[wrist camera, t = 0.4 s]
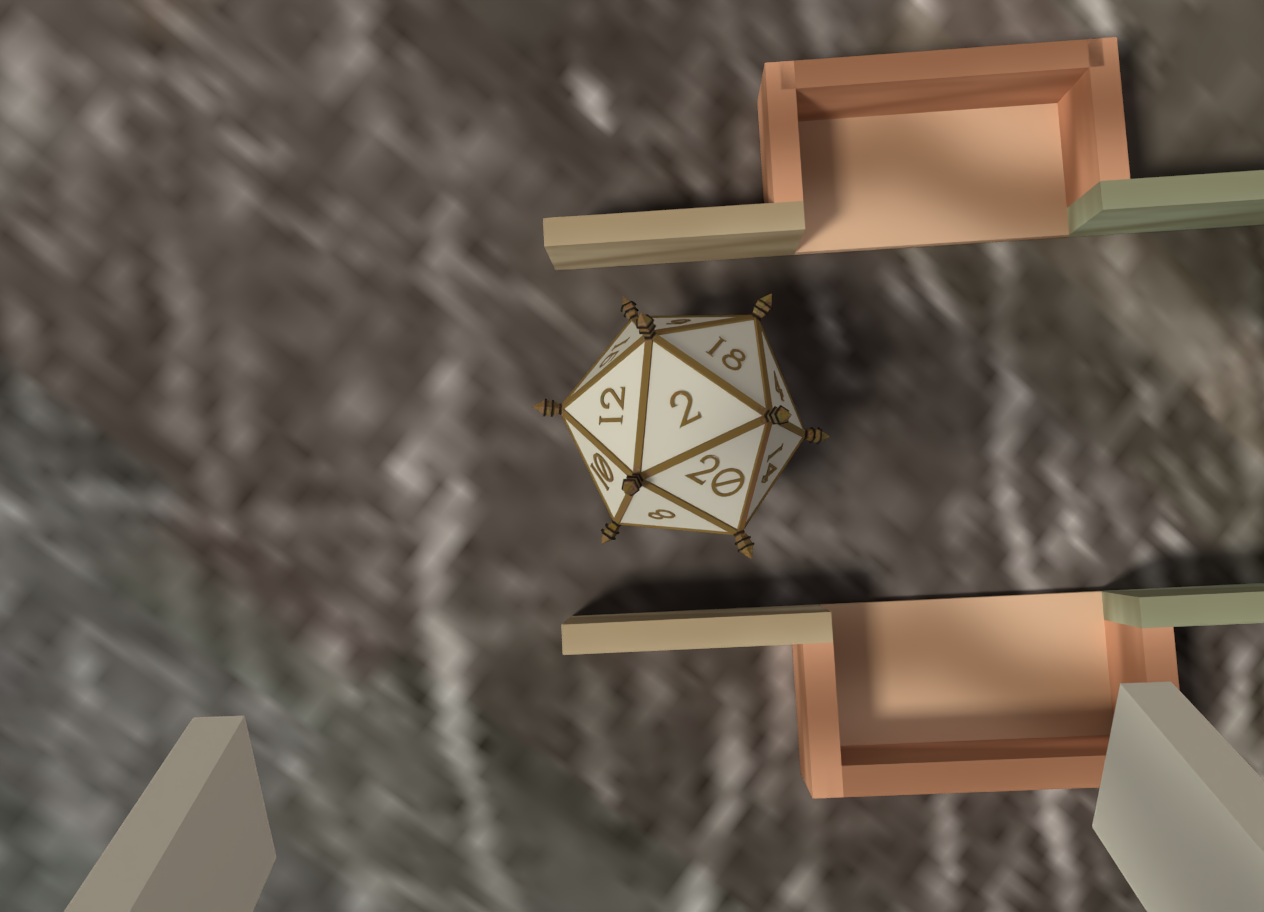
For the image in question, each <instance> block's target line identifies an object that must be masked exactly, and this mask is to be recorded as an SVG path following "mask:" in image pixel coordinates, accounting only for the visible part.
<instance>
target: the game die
mask: <svg viewBox="0 0 1264 912" xmlns="http://www.w3.org/2000/svg"><path fill="white" fill-rule="evenodd" d="M757 300H758V302H757V303H756V305H753V306H754V310H753V313H752V314H751V315H684V316H649V315H644V314H643V313H641V312H640V315H639V316H638V313H637V311H639V310H638V309H637V308H636V307H635V305H636V303H634V302H633V301H629V300H628V299H626V298H625V297H623V304H622V307H621V312H623V313H624V317H627V318H628V319H629V322H628V323H627V324H626V326H625V327H624V328H623V329H622V330H621V332H620V333H619V334H618V335H617V337H616V338H615V339H614V340H613V342H612V343H611V344H610V345H609V346H608V348H607V349H606V350H605V351H604V353H603V354H602V355H601V356H600V358H599V359H598V360H597V361H596V362H595V364H594V365H593V366H592V367H591V369H590V370H589V371H588V372H587V373H586V375H585V376H584V377H583V378H582V380H581V381H580V382H579V383H578V385H577V386H576V387H575V388H574V389H573V391H572V392H571V393H570V394H569V396H568V397H567V398H566V399H565V401H564V402H563V403H562V404H558V403H556V402H554V400H552V401H547V399H545V401H543V402H541V403H539V404H536V405H534V406H532V407H534V408H535V409H536V410H538V411H539V412H541V413H542V414H543V416H545V415H551V417H553V415H556V414H560V415H561V416H562V418H563V420H564V422H565V424H566V426H567V428H568V430H569V432H570V434H571V436H572V438H573V440H574V442H575V444H576V446H577V448H578V450H579V452H580V454H581V456H582V458H583V460H584V463H585V465H586V467H587V469H588V471H589V473H590V475H591V477H592V479H593V481H594V483H595V485H596V487H597V489H598V491H599V493H600V495H601V497H602V499H603V501H604V503H605V505H606V507H607V509H608V511H609V514H610V516H611V518H612V521H611V522H610V523H608V524H607V523H606V524H605V526H606V527H605V528H604V529H602V530H601V531H602V543H601V544H603V543H606V542H608V541H610V540H615V539H616V538H615V536H616V534H619V532H618V530H619V527H620V526H621V525H628V526H640V527H651V528H662V529H674V530H685V531H696V532H708V533H719V534H730V535H734V536H735V539H736V543H735V545H737V546H738V549H739V550H738V552H742V553H743V554H745V555H746V556H748V557H749V558H751V559H752V552H753V545H754V543H752V542H751V540H750V538H751V537H750V536H748V535H747V534H746V533H745V532H744V529H745V527H746V526H747V524H748V523H749V521H750V520H751V518H752V516H753V515H754V513H755V512H756V510H757V509H758V507H759V506H760V504H761V503H762V501H763V500H764V498H765V497H766V495H767V494H768V492H769V491H770V489H771V488H772V486H773V485H774V483H775V482H776V480H777V479H778V477H779V476H780V474H781V473H782V471H783V470H784V468H785V467H786V465H787V464H788V462H789V460H790V459H791V457H792V456H793V454H794V453H795V451H796V450H797V448H798V447H799V445H800V444H801V442H802V441H803V440H804V439H806V440H808V441H810V443H812V442H816V444H819V443H820V442H821V441H823V440H825V439H827V438H829V437H830V436H829V435H827V434H826V433H824V432H823V431H822V429H821V428H819V427H818V428H817V429H814V428H813V427H811V429H805V428H804V426H803V424H802V421H801V419H800V416H799V414H798V412H797V409H796V407H795V404H794V402H793V399H792V397H791V395H790V392H789V390H788V387H787V385H786V382H785V380H784V378H783V375H782V373H781V370H780V368H779V365H778V363H777V361H776V358H775V356H774V353H773V351H772V348H771V346H770V344H769V341H768V339H767V336H766V334H765V332H764V329H763V327H762V324H761V322H760V320H761V318H762V317H763V316H765V315H768V313H767V312H768V311H769V310H770V309H772V307H771V304H772V294H769V295H767V296H765V297H763V298H760V299H759V298H758V299H757Z"/></svg>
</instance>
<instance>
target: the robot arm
mask: <svg viewBox="0 0 1264 912" xmlns="http://www.w3.org/2000/svg"><path fill="white" fill-rule="evenodd" d="M1092 827H1093V829H1094V830H1095V832H1096V833H1097V835H1098V837H1099V838H1100V840H1101V841H1102V843H1103V844H1104V846H1105V847H1106V849H1107V851H1108V852H1109V854H1110V855H1111V857H1112V858H1113V860H1114V861H1115V863H1116V864H1117V866H1118V868H1119V869H1120V871H1121V872H1122V874H1123V875H1124V877H1125V878H1126V880H1127V881H1128V883H1129V885H1130V886H1131V888H1132V889H1133V891H1134V892H1135V894H1136V895H1137V897H1138V899H1139V900H1140V902H1141V903H1142V905H1143V906H1144V908H1145V909H1146V911H1147V912H1264V780H1263V779H1262V778H1261V777H1260V776H1259V775H1258V774H1257V773H1256V772H1255V771H1254V770H1253V769H1252V768H1251V766H1250V765H1249V764H1248V763H1247V762H1246V761H1245V760H1244V759H1243V758H1242V757H1241V756H1240V755H1239V754H1238V753H1237V752H1236V750H1235V749H1234V748H1233V747H1232V746H1231V745H1230V744H1229V743H1228V742H1227V741H1226V740H1225V739H1224V738H1223V737H1222V735H1221V734H1220V733H1219V732H1218V731H1217V730H1216V729H1215V728H1214V727H1213V726H1212V725H1211V724H1210V723H1209V722H1208V721H1207V719H1206V718H1205V717H1204V716H1203V715H1202V714H1201V713H1200V712H1199V711H1198V710H1197V709H1196V708H1195V707H1194V706H1193V704H1192V703H1191V702H1190V701H1189V700H1188V699H1187V698H1186V697H1185V696H1184V695H1183V694H1182V693H1181V692H1180V691H1179V690H1178V688H1177V687H1176V686H1175V685H1174V684H1173V683H1172V682H1146V683H1120V687H1119V692H1118V697H1117V702H1116V707H1115V713H1114V718H1113V723H1112V728H1111V733H1110V738H1109V743H1108V748H1107V753H1106V758H1105V764H1104V769H1103V774H1102V779H1101V784H1100V789H1099V794H1098V799H1097V804H1096V810H1095V815H1094V820H1093V825H1092ZM275 860H276V853H275V849H274V844H273V840H272V836H271V831H270V827H269V822H268V818H267V813H266V809H265V805H264V800H263V796H262V791H261V787H260V782H259V778H258V773H257V769H256V765H255V760H254V756H253V751H252V747H251V742H250V738H249V734H248V729H247V725H246V720H245V716H224V717H197V718H193V719H192V720H191V722H190V723H189V725H188V726H187V728H186V729H185V731H184V732H183V734H182V735H181V737H180V738H179V740H178V741H177V743H176V744H175V746H174V747H173V749H172V750H171V752H170V753H169V755H168V756H167V758H166V759H165V761H164V762H163V764H162V765H161V767H160V768H159V770H158V771H157V773H156V774H155V776H154V777H153V779H152V780H151V782H150V783H149V785H148V786H147V788H146V789H145V791H144V792H143V794H142V795H141V797H140V798H139V800H138V801H137V803H136V804H135V806H134V807H133V809H132V810H131V812H130V813H129V815H128V816H127V818H126V819H125V821H124V822H123V824H122V825H121V827H120V828H119V830H118V831H117V833H116V834H115V836H114V837H113V839H112V840H111V842H110V843H109V845H108V846H107V848H106V849H105V851H104V852H103V854H102V855H101V857H100V858H99V860H98V861H97V863H96V864H95V866H94V867H93V869H92V870H91V872H90V873H89V875H88V876H87V878H86V879H85V881H84V882H83V884H82V885H81V887H80V888H79V890H78V891H77V893H76V894H75V896H74V897H73V899H72V900H71V902H70V903H69V905H68V906H67V908H66V909H65V911H64V912H253V910H254V908H255V905H256V903H257V901H258V898H259V896H260V894H261V892H262V889H263V887H264V885H265V882H266V880H267V878H268V876H269V873H270V871H271V869H272V866H273V864H274V862H275Z"/></svg>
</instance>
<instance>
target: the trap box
mask: <svg viewBox="0 0 1264 912" xmlns="http://www.w3.org/2000/svg"><path fill="white" fill-rule="evenodd" d="M758 117H759V133H760V148H761V164H762V179H763V195H764V204H749V205H734V206H719V207H704V208H689V209H675V210H660V211H645V212H630V213H615V214H600V215H585V216H570V217H555V218H543V227H544V247H545V249H546V251H547V253H548V255H549V257H550V259H551V261H552V264H553V266H554V268H555V270H566V269H582V268H597V267H613V266H628V265H644V264H659V263H675V262H690V261H706V260H721V259H737V258H752V257H768V256H783V255H799V254H814V253H830V252H845V251H861V250H877V249H892V248H908V247H923V246H939V245H954V244H970V243H985V242H1001V241H1016V240H1032V239H1047V238H1063V237H1078V236H1094V235H1109V234H1125V233H1140V232H1156V231H1171V230H1187V229H1202V228H1218V227H1233V226H1249V225H1264V170H1257V171H1242V172H1227V173H1212V174H1197V175H1182V176H1167V177H1152V178H1137V179H1130V170H1129V159H1128V149H1127V139H1126V128H1125V118H1124V107H1123V97H1122V87H1121V76H1120V66H1119V55H1118V45H1117V37H1110V38H1096V39H1083V40H1069V41H1055V42H1042V43H1028V44H1015V45H1001V46H988V47H974V48H960V49H947V50H933V51H920V52H906V53H893V54H879V55H865V56H852V57H838V58H825V59H811V60H798V61H784V62H770V63H765V65H764V71H763V76H762V81H761V86H760V92H759V97H758ZM1246 623H1264V583H1254V584H1233V585H1213V586H1192V587H1171V588H1150V589H1129V590H1108V591H1087V592H1066V593H1045V594H1024V595H1003V596H982V597H961V598H940V599H919V600H898V601H877V602H856V603H835V604H815V605H794V606H773V607H752V608H731V609H710V610H689V611H668V612H647V613H626V614H605V615H584V616H571V617H570V618H569V619H568V620H566V621H565V622H564V623H563V624H562V647H563V655H570V654H592V653H614V652H636V651H658V650H679V649H701V648H723V647H745V646H767V645H788V644H792V646H793V662H794V677H795V693H796V708H797V724H798V739H799V755H800V770H801V776H802V778H803V780H804V782H805V784H806V786H807V788H808V790H809V792H810V794H811V796H812V798H835V797H861V796H887V795H913V794H939V793H965V792H991V791H1017V790H1043V789H1069V788H1095V787H1100V784H1101V779H1102V774H1103V769H1104V764H1105V758H1106V753H1107V748H1108V743H1109V738H1110V733H1111V728H1112V723H1113V718H1114V713H1115V707H1116V702H1117V697H1118V692H1119V687H1120V683H1146V682H1172V683H1173V684H1174V685H1175V686H1176V687H1177V688H1178V690H1179V680H1178V670H1177V660H1176V649H1175V639H1174V628H1173V627H1181V626H1202V625H1224V624H1246Z"/></svg>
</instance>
